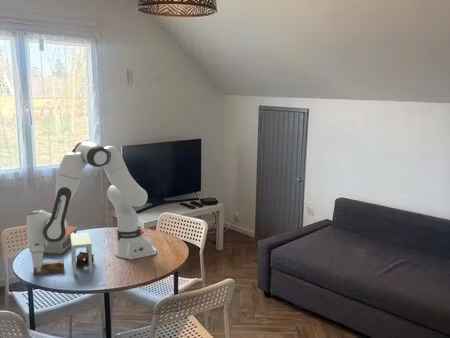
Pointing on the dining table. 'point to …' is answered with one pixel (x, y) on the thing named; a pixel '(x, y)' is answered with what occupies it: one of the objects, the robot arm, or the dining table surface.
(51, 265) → the push stick
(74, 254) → the footstool
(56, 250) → the model house
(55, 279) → the dining table surface
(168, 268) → the dining table surface
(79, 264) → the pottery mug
